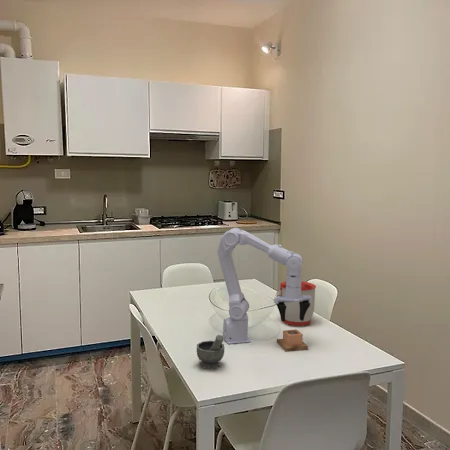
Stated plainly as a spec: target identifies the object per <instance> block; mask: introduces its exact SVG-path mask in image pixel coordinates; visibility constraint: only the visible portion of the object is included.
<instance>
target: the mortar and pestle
mask: <svg viewBox="0 0 450 450" xmlns="http://www.w3.org/2000/svg"><path fill="white" fill-rule="evenodd" d="M224 341H225V339H224V338H223V335H221V334H217V335H216V336H215V340H205V341H201V342H198V343H196V356H197V358H198V359H199V361H201V367H202V368H203V369H206V370H207V369H208V370H212V369H213V370H214V369H217V368H218V367H220V361H221V360H222V359H223V358H224V355H225V344H224V343H223V342H224Z"/></svg>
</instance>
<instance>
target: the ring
mask: <svg viewBox="0 0 450 450" xmlns="http://www.w3.org/2000/svg"><path fill="white" fill-rule="evenodd" d="M291 331H293V332H295V334H292V335H290V332H291ZM282 339H283V341H284V342H285V343H286V344H287V345H288V346H294V345H302V341H303V339H304V338H303V333H302V332H300V331H299V330H298V329H296V328H295V329H285V330H282Z"/></svg>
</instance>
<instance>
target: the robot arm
mask: <svg viewBox="0 0 450 450" xmlns="http://www.w3.org/2000/svg"><path fill="white" fill-rule="evenodd" d="M219 239H220V241H219V246H218V248H217V251H216V252H217V256H218V261H219V264H220V269H221V272H222V275H223V279H224V282H225V286H226V289H227V293H228V306H229V307H228V315H229V317H227V318H224V319H223V332H222V334H223V335H222V336H223V338H224V341H225V342H226V344H227V345H230V344H231V345H232V344H244V343H251V342H252V340H251V339H250V337H249V334H248V333H249V315H248V313H247V312H248V311H249V310H250V303H249V301H248V300H247V299H246V298H245V293H243V292H242V289H241V285H240V281H239V278H238V274H237V270H236V267H235V262H234V260H233V256H232V253H233V251H234V250H235V248H236V246H237V245H239V246H245V245H249V246H251V247H254V248H256V249H257V250H260V251H262V252H264V253H267V257H268V258H269V259H271V260H272V261H274V262H277V263H278V264H281V265H283V266H285V267H286V276H285V277H286V280H285V282H286V296H281V297H276V296H275V297H273V298H274V299H273V302H274V304H276V306H277V307H276V308H277V309H278V312H279V315H280V320H281V322H282V323H284V322H285V311H286V307H287V306H286V305H285V304H284V303H289V302H299V305H300V320H301V321H303V320H304V317H305V314H306V311H307V309H308V308H309V306H310V303H309V302H312V297H311V296H310V295H309V296H305V295H301V281H303V280H302V272H303V269H302V267H303V256H302V255H300V254H299V253H297V252H294V251H292V250H288V249H286V248H284V247H283V245H281V244H280V243H279V244H272V245H271V244H270V243H268V242H266V241H264V240H262V239H261V238H259V237H257V236H256V235H253V234H252V233H251V232H248V231H247V230H243V229H240V228H239V227H232V228H230V230H226V231H225V232H224V233H223V234H222V235H221V237H220V238H219Z"/></svg>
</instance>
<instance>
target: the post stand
mask: <svg viewBox="0 0 450 450" xmlns="http://www.w3.org/2000/svg"><path fill="white" fill-rule="evenodd" d="M292 334H295V332H293V331H291V332H290V335H292ZM276 344H277V345H278V346H279V347H280V348H281V349H282V351H284V352H285V353H287V352H299V351H308V350H309V345H308V344H307V343H305V342H304V341H303V340H302V345H294V346H288V345H287V344H286V343H285V342H284V341H283V338H276Z"/></svg>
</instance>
